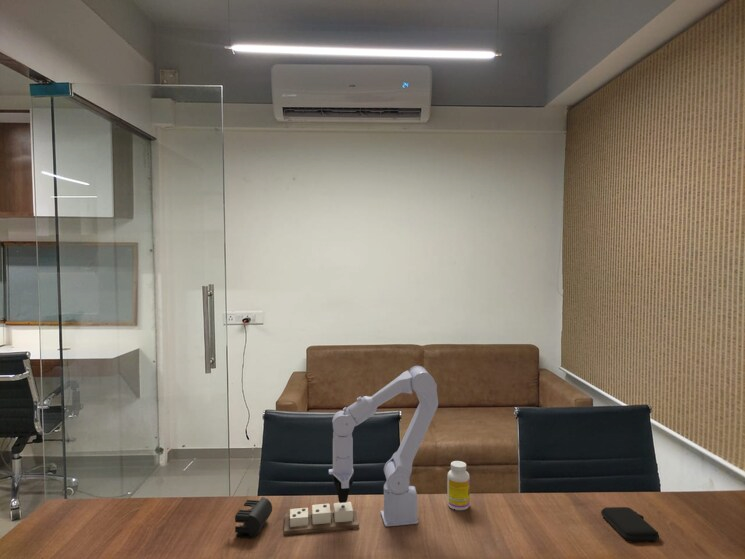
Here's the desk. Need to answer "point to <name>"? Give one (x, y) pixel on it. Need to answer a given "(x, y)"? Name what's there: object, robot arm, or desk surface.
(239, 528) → the end cap
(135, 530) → the desk surface
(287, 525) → the tile tray
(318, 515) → the tile two
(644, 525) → the black rounded phone case
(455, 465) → the supplement bottle
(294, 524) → the tile three
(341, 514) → the tile one
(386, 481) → the robot arm
